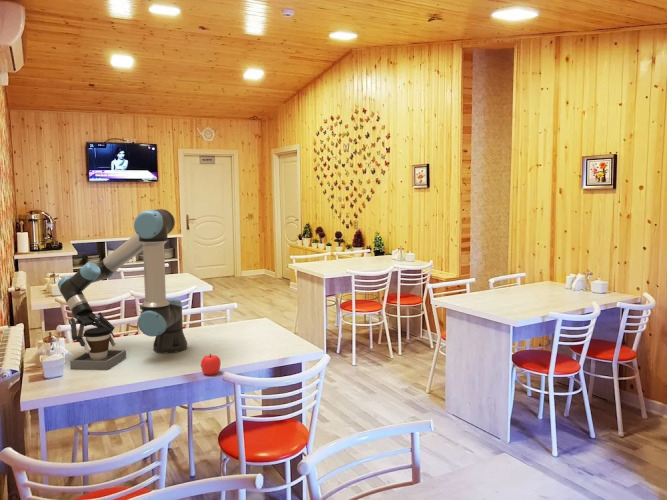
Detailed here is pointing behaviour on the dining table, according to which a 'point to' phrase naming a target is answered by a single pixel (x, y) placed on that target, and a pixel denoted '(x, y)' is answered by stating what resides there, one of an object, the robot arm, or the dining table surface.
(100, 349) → the coffee cup
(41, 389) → the dining table surface
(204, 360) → the apple
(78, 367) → the holder tray
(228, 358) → the dining table surface
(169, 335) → the robot arm
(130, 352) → the dining table surface
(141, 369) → the dining table surface
